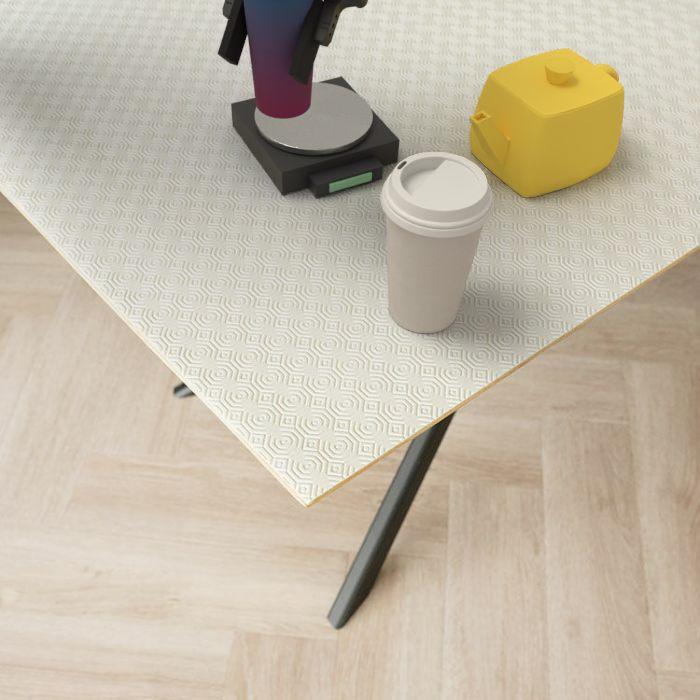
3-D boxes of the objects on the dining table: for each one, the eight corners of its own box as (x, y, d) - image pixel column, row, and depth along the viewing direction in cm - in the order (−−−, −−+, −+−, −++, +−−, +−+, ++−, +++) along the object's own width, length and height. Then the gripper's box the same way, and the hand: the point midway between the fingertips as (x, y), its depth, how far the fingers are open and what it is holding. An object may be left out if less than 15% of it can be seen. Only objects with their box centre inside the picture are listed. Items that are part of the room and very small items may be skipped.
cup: (323, 85, 85) (325, -78, 74) (317, 126, 81) (319, -40, 70) (250, 81, 86) (242, -82, 74) (241, 122, 81) (230, -45, 70)
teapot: (496, 219, 95) (515, 123, 86) (428, 157, 102) (439, 62, 93) (636, 163, 102) (666, 68, 94) (564, 108, 109) (586, 16, 101)
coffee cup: (430, 261, 90) (447, 133, 79) (494, 318, 85) (522, 190, 74) (352, 298, 86) (358, 169, 75) (414, 361, 81) (431, 232, 70)
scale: (232, 126, 105) (230, 103, 102) (341, 98, 109) (341, 76, 107) (291, 207, 95) (290, 184, 93) (407, 173, 100) (409, 151, 98)
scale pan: (236, 103, 102) (236, 97, 102) (340, 78, 107) (340, 72, 106) (284, 167, 95) (284, 161, 94) (393, 137, 99) (394, 131, 98)
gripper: (463, -157, 76) (375, 110, 78) (263, -197, 81) (185, 56, 83) (449, -211, 69) (352, 85, 71) (229, -251, 74) (145, 27, 76)
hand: (262, 69), depth 77 cm, fingers closed on cup, 6 cm apart
